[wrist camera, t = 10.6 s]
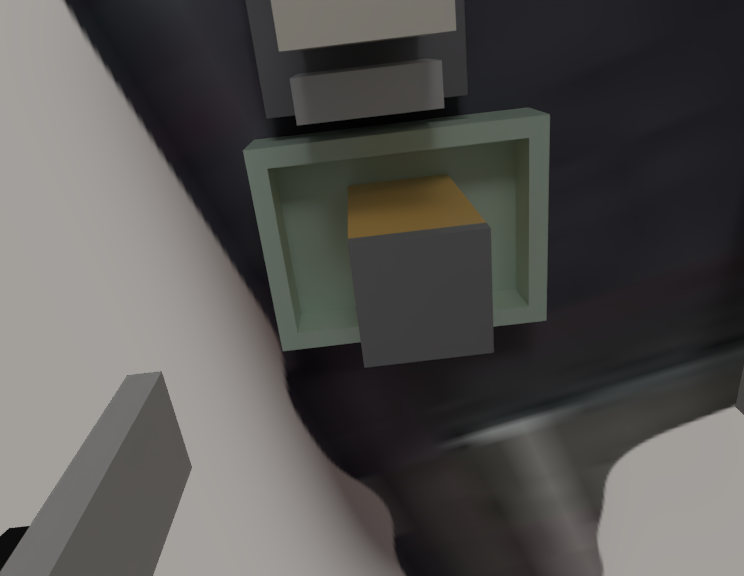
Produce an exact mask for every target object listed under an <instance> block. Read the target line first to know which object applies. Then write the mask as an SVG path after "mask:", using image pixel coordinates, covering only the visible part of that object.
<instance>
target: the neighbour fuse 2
mask: <svg viewBox="0 0 744 576" xmlns="http://www.w3.org/2000/svg"><path fill="white" fill-rule="evenodd" d="M271 6H272V12H273V18H274V24H275V30H276V37H277V43H278V49H279V52H281V51H301V50H310V49H318V48H327V47H335V46H344V45H352V44H360V43H369V42H377V41H386V40H394V39H402V38H411V37H419V36H425V35H431V34H437V33H444V32H450V31H456V13H455V0H271Z"/></svg>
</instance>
